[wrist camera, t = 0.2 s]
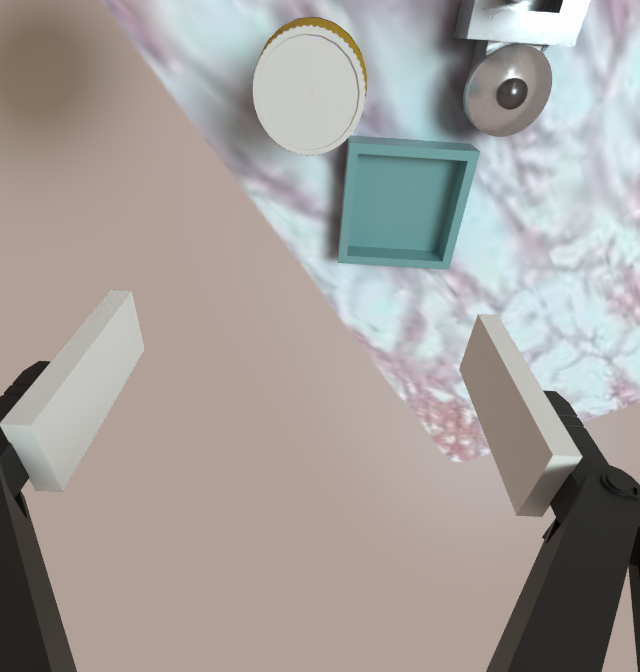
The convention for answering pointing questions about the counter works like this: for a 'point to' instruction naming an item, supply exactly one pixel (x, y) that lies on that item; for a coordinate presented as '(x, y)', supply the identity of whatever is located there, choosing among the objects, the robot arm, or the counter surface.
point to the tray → (403, 201)
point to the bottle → (310, 86)
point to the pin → (520, 0)
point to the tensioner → (513, 58)
